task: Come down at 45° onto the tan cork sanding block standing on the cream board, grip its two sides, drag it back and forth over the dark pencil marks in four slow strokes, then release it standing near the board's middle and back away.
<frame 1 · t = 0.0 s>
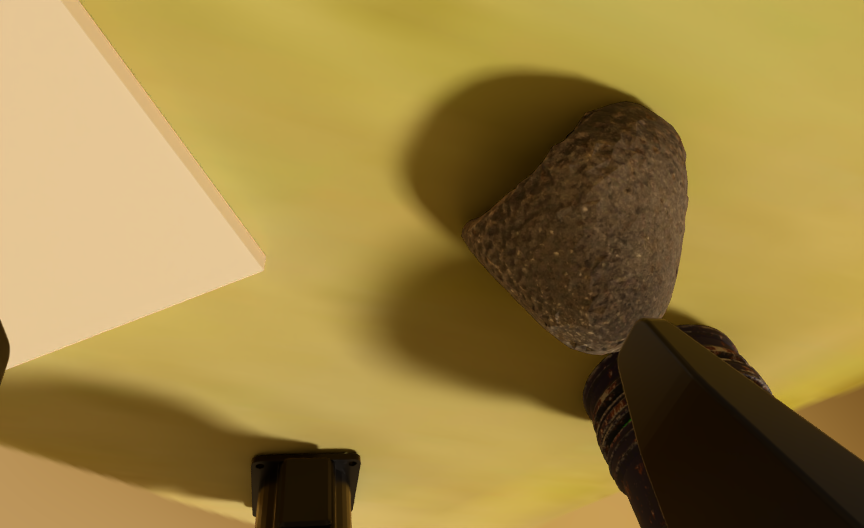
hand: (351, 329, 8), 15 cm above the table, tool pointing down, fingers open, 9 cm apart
stone: (571, 200, 26), on the table
storage jar: (656, 377, 35), on the table
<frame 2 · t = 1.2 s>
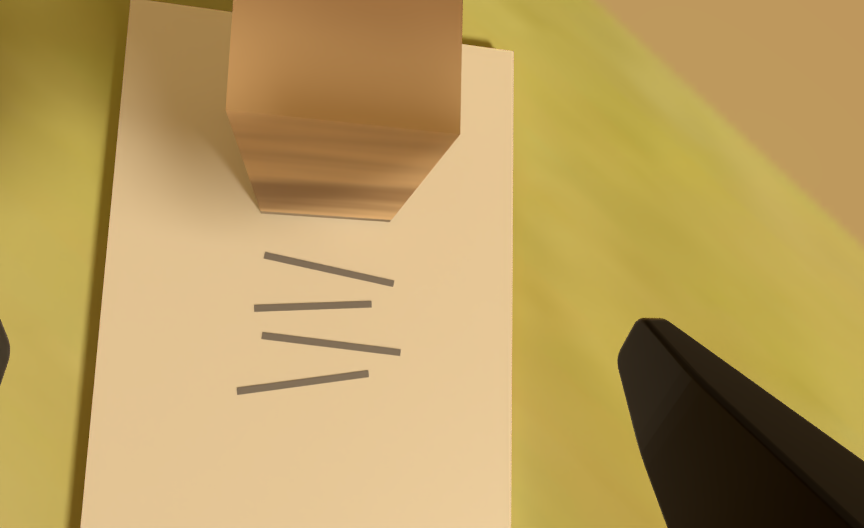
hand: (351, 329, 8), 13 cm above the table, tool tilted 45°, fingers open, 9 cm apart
sanding block: (330, 156, 20), point 1 cm above the table, touching board
board: (321, 324, 21), on the table
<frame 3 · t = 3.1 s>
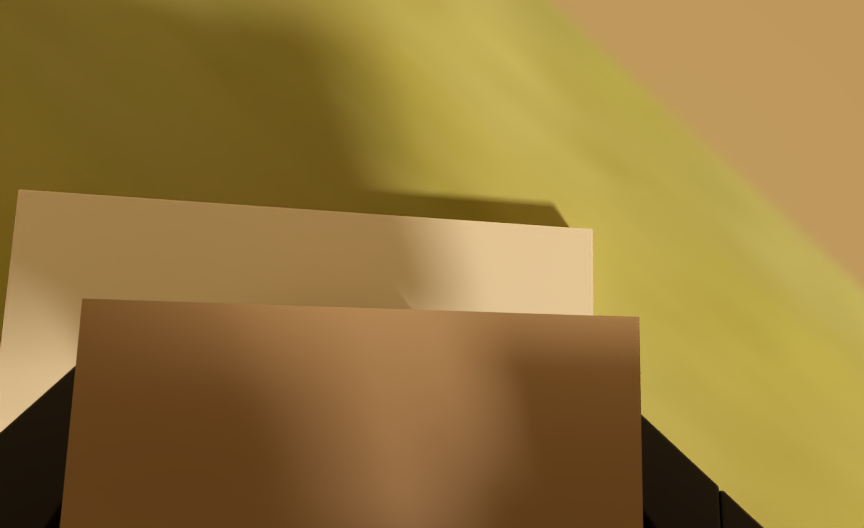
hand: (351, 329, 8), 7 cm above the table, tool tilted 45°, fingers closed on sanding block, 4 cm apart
sanding block: (327, 416, 14), point 1 cm above the table, touching board, gripper
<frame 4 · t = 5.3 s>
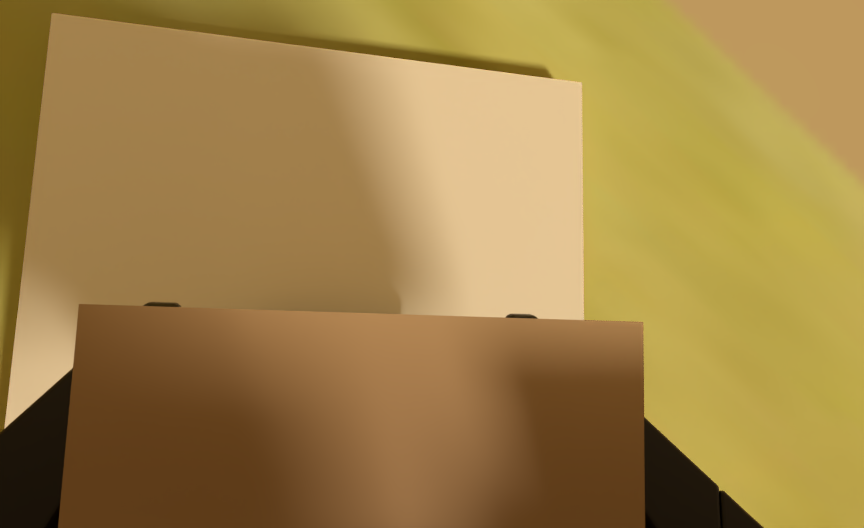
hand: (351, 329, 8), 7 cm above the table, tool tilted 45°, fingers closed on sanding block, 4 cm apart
sanding block: (327, 411, 14), point 2 cm above the table, touching gripper
board: (322, 465, 15), on the table
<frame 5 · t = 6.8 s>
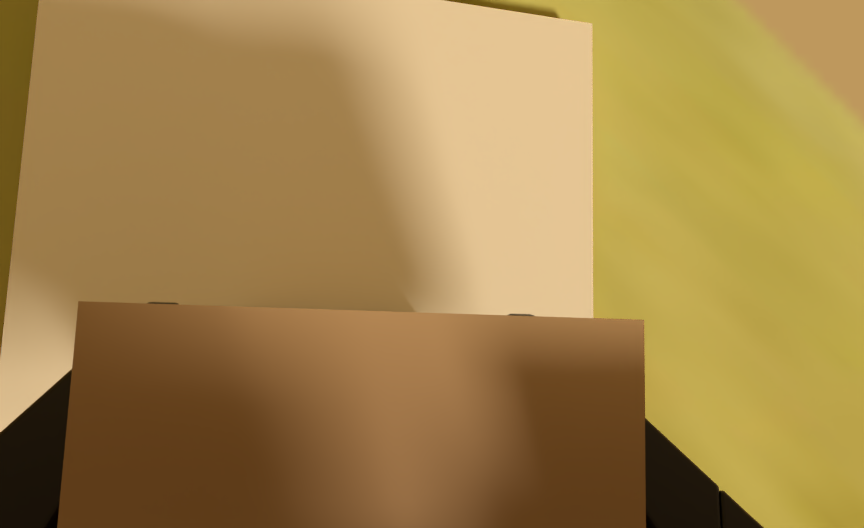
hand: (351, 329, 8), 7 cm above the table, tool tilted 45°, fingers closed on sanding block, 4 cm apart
sanding block: (327, 411, 13), point 1 cm above the table, touching gripper
board: (325, 410, 15), on the table
when the fingers open (7 cm above the table, at t = 7.8 s): sanding block stays where it is, resting on board.
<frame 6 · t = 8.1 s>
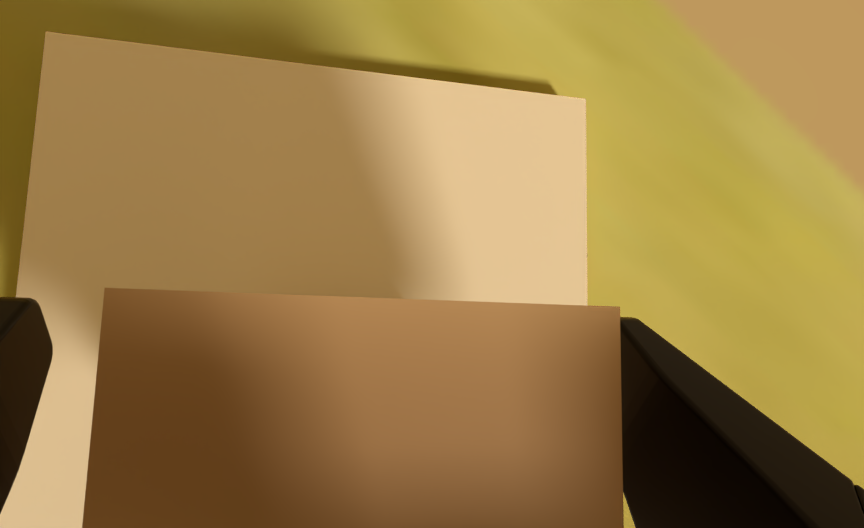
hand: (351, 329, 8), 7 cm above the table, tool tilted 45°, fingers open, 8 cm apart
sanding block: (327, 410, 14), point 1 cm above the table, touching board
board: (321, 490, 15), on the table
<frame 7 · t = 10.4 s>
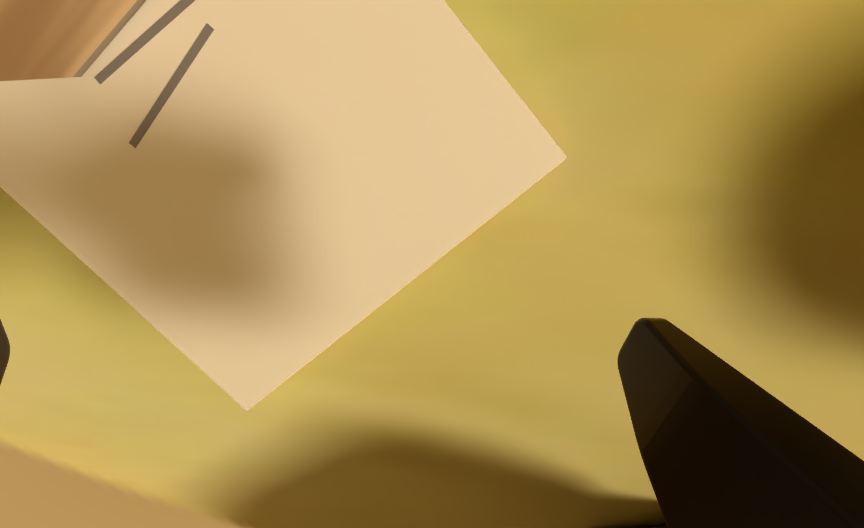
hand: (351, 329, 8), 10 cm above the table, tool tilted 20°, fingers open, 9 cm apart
board: (145, 21, 17), on the table
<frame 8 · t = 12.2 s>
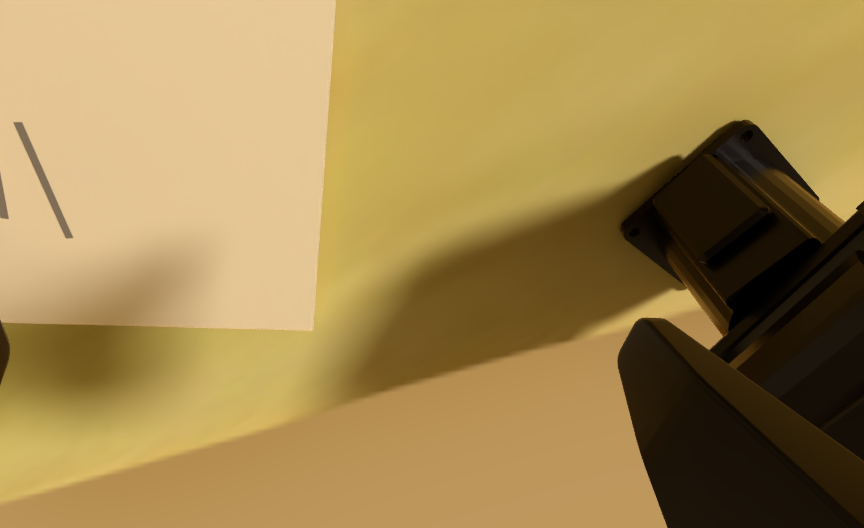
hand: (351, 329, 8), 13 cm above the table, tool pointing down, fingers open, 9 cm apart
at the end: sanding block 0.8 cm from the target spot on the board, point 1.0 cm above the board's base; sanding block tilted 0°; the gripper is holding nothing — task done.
